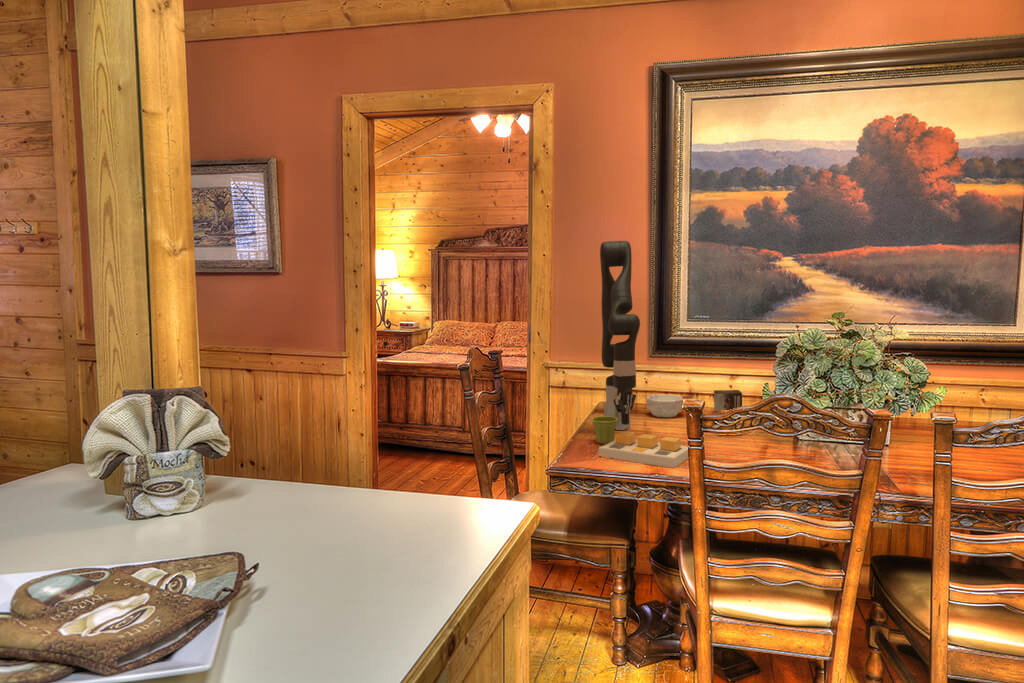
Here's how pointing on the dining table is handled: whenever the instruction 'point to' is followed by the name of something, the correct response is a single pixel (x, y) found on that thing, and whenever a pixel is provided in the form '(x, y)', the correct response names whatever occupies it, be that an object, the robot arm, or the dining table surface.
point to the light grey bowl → (664, 405)
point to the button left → (625, 438)
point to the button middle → (647, 440)
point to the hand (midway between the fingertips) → (625, 424)
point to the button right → (670, 443)
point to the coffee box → (727, 401)
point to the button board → (644, 454)
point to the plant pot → (604, 428)
